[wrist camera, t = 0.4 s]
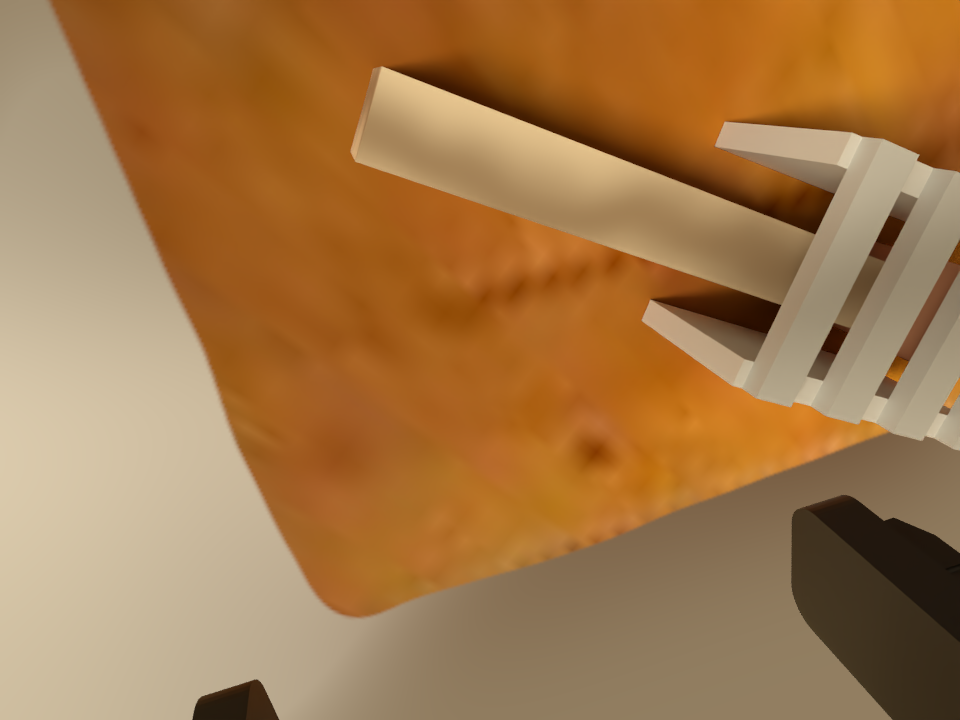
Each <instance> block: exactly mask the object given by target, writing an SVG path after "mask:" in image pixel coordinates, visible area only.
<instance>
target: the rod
mask: <svg viewBox="0 0 960 720" xmlns="http://www.w3.org/2000/svg"><path fill="white" fill-rule="evenodd" d="M350 152H351V154H352V156H353V158H354V160H355V162H358V163H361V164H364V165H367V166H370V167H373V168H376V169H379V170H382V171H385V172H388V173H391V174H394V175H397V176H400V177H403V178H406V179H409V180H412V181H415V182H418V183H421V184H423V185H426V186H429V187H432V188H435V189H438V190H441V191H444V192H447V193H450V194H453V195H456V196H459V197H462V198H465V199H468V200H471V201H474V202H477V203H480V204H483V205H486V206H489V207H492V208H495V209H498V210H501V211H504V212H507V213H510V214H513V215H515V216H518V217H521V218H524V219H527V220H530V221H533V222H536V223H539V224H542V225H545V226H548V227H551V228H554V229H557V230H560V231H563V232H566V233H569V234H572V235H575V236H578V237H581V238H584V239H587V240H590V241H593V242H596V243H599V244H602V245H605V246H608V247H610V248H613V249H616V250H619V251H622V252H625V253H628V254H631V255H634V256H637V257H640V258H643V259H646V260H649V261H652V262H655V263H658V264H661V265H664V266H667V267H670V268H673V269H676V270H679V271H682V272H685V273H688V274H691V275H694V276H697V277H700V278H703V279H705V280H708V281H711V282H714V283H717V284H720V285H723V286H726V287H729V288H732V289H735V290H738V291H741V292H744V293H747V294H750V295H753V296H756V297H759V298H762V299H765V300H768V301H771V302H774V303H777V304H780V305H782V303H783V301H784V299H785V297H786V295H787V293H788V291H789V289H790V287H791V285H792V283H793V281H794V278H795V276H796V274H797V272H798V270H799V268H800V266H801V264H802V262H803V260H804V258H805V256H806V253H807V251H808V249H809V247H810V245H811V243H812V241H813V239H814V237H815V234H813V233H810V232H807V231H805V230H802V229H800V228H797V227H795V226H792V225H789V224H787V223H784V222H782V221H779V220H776V219H774V218H771V217H769V216H766V215H764V214H761V213H758V212H756V211H753V210H751V209H748V208H746V207H743V206H740V205H738V204H735V203H733V202H730V201H728V200H725V199H722V198H720V197H717V196H715V195H712V194H709V193H707V192H704V191H702V190H699V189H697V188H694V187H691V186H689V185H686V184H684V183H681V182H679V181H676V180H673V179H671V178H668V177H666V176H663V175H661V174H658V173H655V172H653V171H650V170H648V169H645V168H643V167H640V166H637V165H635V164H632V163H630V162H627V161H624V160H622V159H619V158H617V157H614V156H612V155H609V154H606V153H604V152H601V151H599V150H596V149H594V148H591V147H588V146H586V145H583V144H581V143H578V142H576V141H573V140H570V139H568V138H565V137H563V136H560V135H558V134H555V133H552V132H550V131H547V130H545V129H542V128H539V127H537V126H534V125H532V124H529V123H527V122H524V121H521V120H519V119H516V118H514V117H511V116H509V115H506V114H503V113H501V112H498V111H496V110H493V109H491V108H488V107H485V106H483V105H480V104H478V103H475V102H473V101H470V100H467V99H465V98H462V97H460V96H457V95H454V94H452V93H449V92H447V91H444V90H442V89H439V88H436V87H434V86H431V85H429V84H426V83H424V82H421V81H418V80H416V79H413V78H411V77H408V76H406V75H403V74H400V73H398V72H395V71H393V70H390V69H387V68H385V67H378V68H375V69H373V72H372V76H371V79H370V83H369V86H368V90H367V94H366V97H365V101H364V104H363V108H362V112H361V115H360V119H359V122H358V126H357V130H356V133H355V137H354V140H353V144H352V148H351V151H350ZM884 263H885V261H882V260H880V259H877V258H874V257H872V256H869V255H868V257H867V259H866V261H865V263H864V265H863V267H862V269H861V271H860V273H859V275H858V277H857V279H856V281H855V282H854V284H853V286H852V288H851V290H850V292H849V294H848V296H847V298H846V300H845V302H844V304H843V306H842V308H841V310H840V312H839V314H838V316H837V318H836V320H835V322H834V323H836V324H839V325H842V326H845V327H848V328H851V327H852V325H853V323H854V321H855V319H856V317H857V315H858V313H859V311H860V309H861V307H862V306H863V304H864V302H865V300H866V298H867V296H868V294H869V292H870V290H871V288H872V286H873V284H874V282H875V280H876V279H877V277H878V275H879V273H880V271H881V269H882V267H883V265H884Z"/></svg>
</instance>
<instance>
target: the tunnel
mask: <svg viewBox="0 0 960 720" xmlns="http://www.w3.org/2000/svg"><path fill="white" fill-rule="evenodd" d="M715 147H717V148H720V149H722V150H725V151H727V152H730V153H732V154H735V155H737V156H740V157H742V158H745V159H747V160H750V161H752V162H755V163H758V164H760V165H763V166H765V167H768V168H770V169H773V170H775V171H778V172H780V173H783V174H785V175H788V176H790V177H793V178H796V179H798V180H801V181H803V182H806V183H808V184H811V185H813V186H816V187H818V188H821V189H823V190H826V191H828V192H831V193H834V194H835V195H834V197H833V199H832V201H831V204H830V206H829V208H828V210H827V212H826V214H825V216H824V218H823V220H822V222H821V224H820V226H819V228H818V231H817V233H816V235H815V237H814V239H813V241H812V243H811V245H810V247H809V249H808V251H807V253H806V256H805V258H804V260H803V262H802V264H801V266H800V268H799V270H798V272H797V274H796V276H795V278H794V281H793V283H792V285H791V287H790V289H789V291H788V293H787V295H786V297H785V299H784V301H783V303H782V305H781V308H780V310H779V312H778V314H777V316H776V318H775V320H774V322H773V324H772V326H771V328H770V330H769V333H768V334H765V333H762V332H759V331H755V330H752V329H749V328H745V327H742V326H738V325H735V324H732V323H728V322H725V321H721V320H718V319H715V318H711V317H708V316H705V315H701V314H698V313H694V312H691V311H688V310H684V309H681V308H678V307H674V306H671V305H667V304H664V303H661V302H657V301H654V300H650V302H649V304H648V307H647V309H646V311H645V314H644V316H643V319H642V321H643V322H644V323H646V324H647V325H648V326H650V327H651V328H652V329H654V330H655V331H657V332H658V333H659V334H661V335H662V336H664V337H665V338H666V339H668V340H669V341H671V342H672V343H673V344H675V345H676V346H678V347H679V348H680V349H682V350H683V351H685V352H686V353H687V354H689V355H690V356H691V357H693V358H694V359H696V360H697V361H698V362H700V363H701V364H703V365H704V366H705V367H707V368H708V369H710V370H711V371H712V372H714V373H715V374H717V375H718V376H719V377H721V378H722V379H723V380H725V381H726V382H728V383H729V384H730V385H732V386H735V387H739V388H742V389H744V390H745V391H746V392H748V393H749V394H751V395H752V396H754V397H755V398H757V399H761V400H765V401H769V402H773V403H776V404H780V405H784V406H788V407H791V406H792V404H793V402H797V403H801V404H805V405H809V406H811V407H813V408H814V409H816V410H817V411H819V412H820V413H822V414H824V415H825V416H827V417H831V418H835V419H839V420H843V421H847V422H851V423H855V424H859V423H860V421H861V419H862V420H866V421H870V422H874V423H876V424H878V425H880V426H881V427H883V428H885V429H886V430H888V431H890V432H891V433H894V434H898V435H901V436H906V437H909V438H913V439H917V440H921V441H922V440H923V439H924V437H925V436H928V437H932V438H935V439H936V440H939V441H940V442H942V443H944V444H945V445H947V446H949V447H951V448H952V449H956V450H960V395H959V396H958V398H957V400H956V401H955V403H954V405H953V407H952V408H951V409H949V408H947V407H945V406H943V404H944V403H945V401H946V399H947V398H948V396H949V394H950V392H951V391H952V389H953V387H954V386H955V384H956V382H957V380H958V379H959V377H960V271H959V273H958V275H957V277H956V279H955V280H954V282H953V284H952V286H951V288H950V289H949V291H948V293H947V295H946V297H945V298H944V300H943V302H942V304H941V306H940V307H939V309H938V311H937V313H936V315H935V316H934V318H933V320H932V322H931V324H930V325H929V327H928V329H927V331H926V333H925V334H924V336H923V338H922V340H921V342H920V343H919V345H918V347H917V349H916V351H915V352H914V354H913V356H912V358H911V360H910V361H909V363H908V365H907V367H906V369H905V370H904V372H903V374H902V376H901V378H900V379H899V381H898V382H896V381H894V380H892V379H890V378H888V377H886V376H885V375H886V373H887V371H888V370H889V368H890V366H891V364H892V362H893V360H894V359H895V357H896V355H897V353H898V351H899V349H900V348H901V346H902V344H903V342H904V340H905V338H906V337H907V335H908V333H909V331H910V329H911V327H912V326H913V324H914V322H915V320H916V318H917V316H918V315H919V313H920V311H921V309H922V307H923V306H924V304H925V302H926V300H927V298H928V296H929V295H930V293H931V291H932V289H933V287H934V285H935V284H936V282H937V280H938V278H939V276H940V274H941V273H942V271H943V269H944V267H945V265H946V263H947V262H948V260H949V258H950V256H951V254H952V252H953V251H954V249H955V247H956V245H957V243H958V242H959V240H960V173H959V172H957V171H952V170H944V169H936V168H932V167H930V166H928V165H925V164H923V163H921V162H919V161H917V159H918V157H919V154H916V153H914V152H912V151H910V150H907V149H905V148H903V147H900V146H898V145H896V144H894V143H891V142H889V141H887V140H885V139H879V138H868V137H861V136H859V135H857V134H855V133H852V132H840V131H829V130H817V129H805V128H794V127H782V126H770V125H758V124H747V123H735V122H725V123H724V125H723V127H722V130H721V132H720V135H719V137H718V139H717V142H716V144H715ZM888 216H892V217H894V218H897V219H899V220H902V221H904V222H906V223H905V225H904V226H903V228H902V230H901V232H900V234H899V236H898V238H897V240H896V242H895V244H894V246H893V248H892V250H891V252H890V253H889V255H888V257H887V259H886V261H885V263H884V265H883V267H882V269H881V271H880V273H879V275H878V277H877V279H876V280H875V282H874V284H873V286H872V288H871V290H870V292H869V294H868V296H867V298H866V300H865V302H864V304H863V306H862V307H861V309H860V311H859V313H858V315H857V317H856V319H855V321H854V323H853V325H852V327H851V329H850V331H849V333H848V334H847V336H846V338H845V340H844V342H843V344H842V346H841V348H840V350H839V352H838V354H837V355H836V354H833V353H830V352H826V351H823V350H820V349H821V347H822V345H823V343H824V341H825V339H826V337H827V335H828V334H829V332H830V330H831V328H832V326H833V324H834V322H835V320H836V318H837V316H838V314H839V312H840V310H841V308H842V306H843V304H844V302H845V300H846V298H847V296H848V294H849V292H850V290H851V288H852V286H853V284H854V282H855V281H856V279H857V277H858V275H859V273H860V271H861V269H862V267H863V265H864V263H865V261H866V259H867V257H868V255H869V253H870V251H871V249H872V247H873V245H874V243H875V241H876V239H877V237H878V235H879V233H880V231H881V229H882V227H883V226H884V224H885V222H886V220H887V218H888Z"/></svg>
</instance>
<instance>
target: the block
mask: <svg viewBox="0 0 960 720" xmlns="http://www.w3.org/2000/svg"><path fill="white" fill-rule="evenodd" d="M892 248H893V246H889V245H885V244H882V243H878V242H875V243H874V245H873V247H872V249H871V251H870V253H869V256H872V257H874V258H877V259H880V260H882V261H886V259H887V257H888V255H889V253H890V252H891V250H892ZM959 271H960V265H958V264H955V263H951V262H947V263H946V265H945V267H944V269H943V271H942V273H941V274H940V276H939V278H938V280H937V282H936V284H935V285H934V287H933V289H932V291H931V293H930V295H929V296H928V298H927V300H926V302H925V304H924V306H923V307H922V309H921V311H920V313H919V315H918V316H917V318H916V320H915V322H914V324H913V326H912V327H911V329H910V331H909V333H908V335H907V337H906V338H905V340H904V342H903V344H902V346H901V348H900V349H899V351H898V353H897V356H899V357H901V358H903V359H905V360H908V361H910V360H911V358H912V356H913V354H914V352H915V351H916V349H917V347H918V345H919V343H920V342H921V340H922V338H923V336H924V334H925V333H926V331H927V329H928V327H929V325H930V324H931V322H932V320H933V318H934V316H935V315H936V313H937V311H938V309H939V307H940V306H941V304H942V302H943V300H944V298H945V297H946V295H947V293H948V291H949V289H950V288H951V286H952V284H953V282H954V280H955V279H956V277H957V275H958V273H959ZM833 326H834V327H836V328H838V329H840V330H842V331H845V332H847V333H849V331H850V329H851V328H848V327H845V326H842V325H839V324H836V323H834V324H833ZM959 378H960V377H959Z"/></svg>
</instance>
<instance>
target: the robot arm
mask: <svg viewBox="0 0 960 720" xmlns="http://www.w3.org/2000/svg"><path fill="white" fill-rule="evenodd" d="M791 583H792V592H793V595H794V599H795V602H796V604H797V607H798V609H799V611H800V613H801V615H802V616H803V618H804V620H805V621H806V622H807V624H808V625H809V626H810V628H811V629H812V630H813V631H814V632H815V634H816V635H817V636H818V637H819V638H820V639H821V640H822V641H823V642H824V644H825V645H826V646H827V647H828V648H829V649H830V650H831V651H832V653H833V654H834V655H835V656H836V657H837V658H838V659H839V660H840V661H841V663H842V664H843V665H844V666H845V667H846V668H847V669H848V670H849V672H850V673H851V674H852V675H853V676H854V677H855V678H856V679H857V680H858V682H859V683H860V684H861V685H862V686H863V687H864V688H865V689H866V690H867V692H868V693H869V694H870V695H871V696H872V697H873V698H874V699H875V700H876V702H877V703H878V704H879V705H880V706H881V707H882V708H883V709H884V710H885V712H886V713H887V714H888V715H889V716H890V717H891V718H892V719H893V720H960V553H959V552H957V551H956V550H955V549H953V548H952V547H951V546H949V545H948V544H946V543H945V542H943V541H942V540H941V539H940V538H938V537H937V536H936V535H934V534H931V533H929V532H926V531H924V530H922V529H919V528H917V527H915V526H912V525H910V524H907V523H905V522H903V521H900V520H898V519H895V518H892V519H888V520H885V521H883V520H882V519H881V518H879V517H878V516H877V515H876V514H874V513H873V512H872V511H870V510H869V509H868V508H867V507H865V506H864V505H863V504H862V503H860V502H859V501H858V500H856V499H854V498H853V497H851V496H847V495H841V496H838V497H835V498H832V499H828V500H825V501H822V502H819V503H816V504H813V505H810V506H806V507H803V508H800V509H797V510H796V511H795V512H794V514H793V517H792V581H791ZM193 720H279V719H278V716H277V714H276V712H275V710H274V708H273V705H272V703H271V701H270V699H269V697H268V695H267V693H266V691H265V689H264V687H263V685H262V684H261V682H260V681H258V680H253V681H250V682H246V683H243V684H240V685H237V686H234V687H231V688H228V689H224V690H222V691H218V692H215V693H212V694H208V695H205V696H202V697H201V698H200V699H199V700H198V701H197V704H196V706H195V710H194V714H193Z"/></svg>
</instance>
